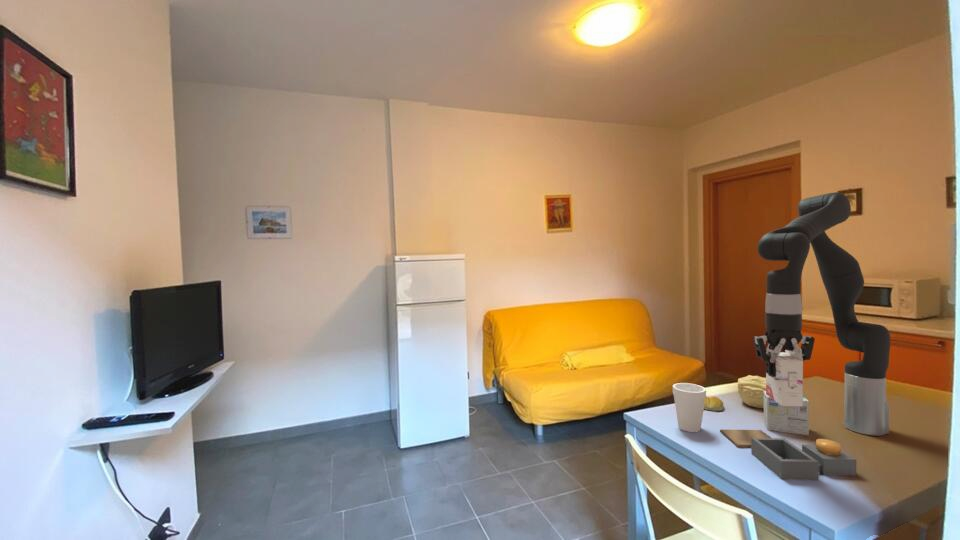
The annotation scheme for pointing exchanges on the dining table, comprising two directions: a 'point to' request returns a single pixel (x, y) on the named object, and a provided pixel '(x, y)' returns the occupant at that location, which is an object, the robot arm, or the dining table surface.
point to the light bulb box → (786, 416)
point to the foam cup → (689, 405)
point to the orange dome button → (828, 447)
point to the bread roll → (713, 404)
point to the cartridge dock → (800, 460)
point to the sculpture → (752, 390)
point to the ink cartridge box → (787, 379)
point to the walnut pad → (743, 436)
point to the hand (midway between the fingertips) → (783, 375)
